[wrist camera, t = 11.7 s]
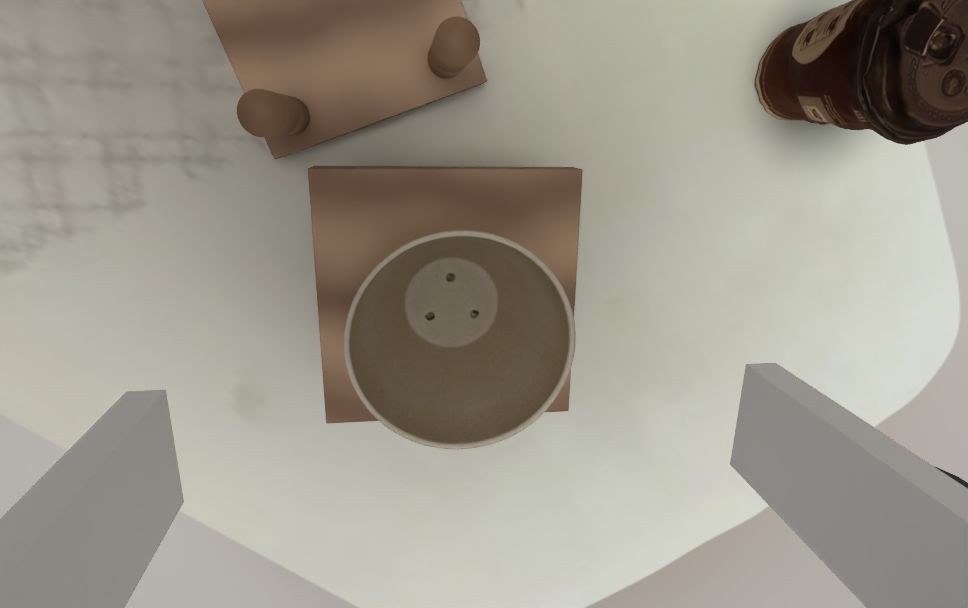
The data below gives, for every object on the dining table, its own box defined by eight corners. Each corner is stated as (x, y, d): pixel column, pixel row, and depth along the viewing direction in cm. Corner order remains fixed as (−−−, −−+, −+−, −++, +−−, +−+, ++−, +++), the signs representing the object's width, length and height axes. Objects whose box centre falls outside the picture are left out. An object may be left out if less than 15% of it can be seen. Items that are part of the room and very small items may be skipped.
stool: (331, 158, 39) (308, 168, 29) (540, 159, 40) (582, 169, 31) (343, 357, 43) (326, 423, 33) (532, 350, 45) (568, 410, 35)
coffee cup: (721, 42, 40) (864, 5, 28) (830, -21, 40) (1024, -87, 27) (764, 158, 43) (912, 171, 30) (867, 99, 42) (1057, 89, 30)
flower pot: (519, 187, 31) (552, 205, 24) (554, 359, 34) (592, 417, 27) (332, 233, 30) (311, 265, 23) (385, 403, 33) (380, 475, 27)
